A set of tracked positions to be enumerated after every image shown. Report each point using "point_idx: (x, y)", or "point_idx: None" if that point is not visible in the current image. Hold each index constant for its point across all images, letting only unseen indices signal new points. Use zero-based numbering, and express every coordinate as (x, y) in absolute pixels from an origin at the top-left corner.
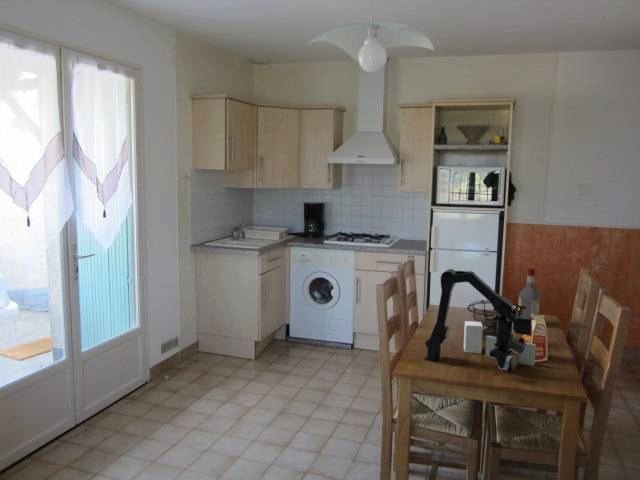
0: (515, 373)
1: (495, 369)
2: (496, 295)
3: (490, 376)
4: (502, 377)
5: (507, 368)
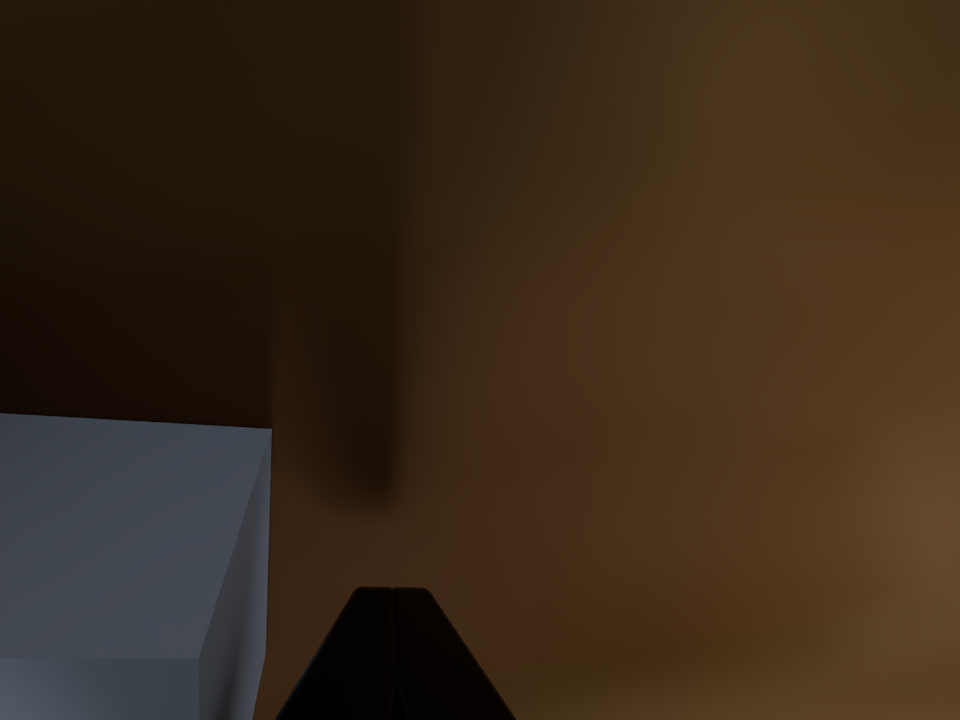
0: (400, 83)
1: None
2: None
3: (916, 691)
4: (926, 447)
5: (136, 444)
